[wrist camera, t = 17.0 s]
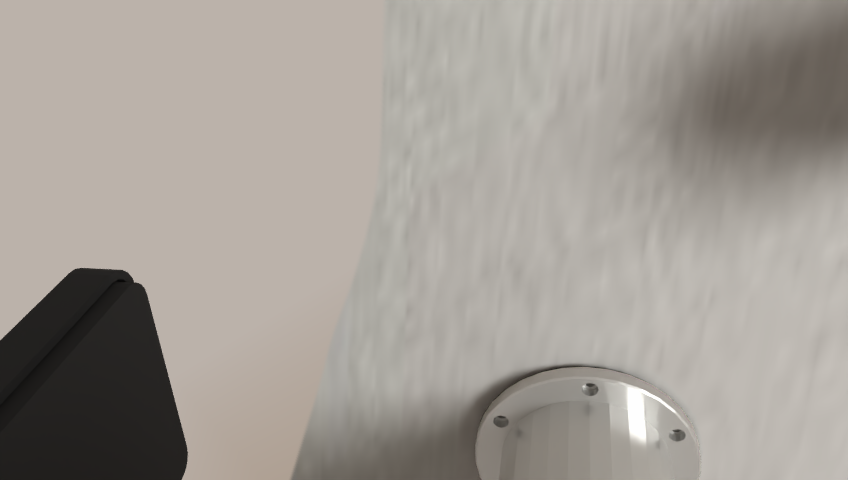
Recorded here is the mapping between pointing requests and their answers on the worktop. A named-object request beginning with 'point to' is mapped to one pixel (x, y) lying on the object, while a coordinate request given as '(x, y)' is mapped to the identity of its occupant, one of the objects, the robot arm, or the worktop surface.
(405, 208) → the worktop surface
